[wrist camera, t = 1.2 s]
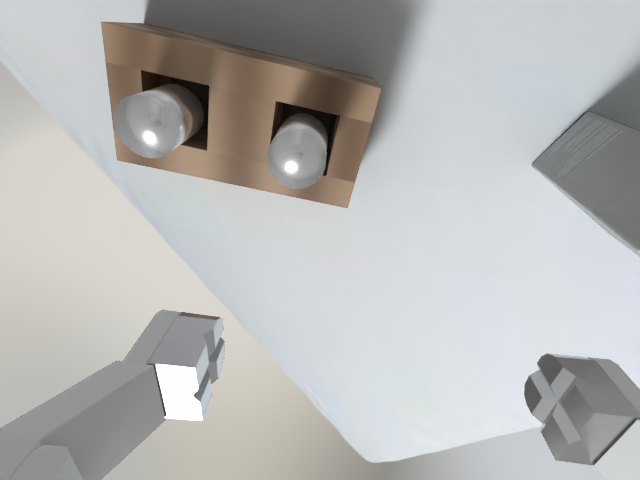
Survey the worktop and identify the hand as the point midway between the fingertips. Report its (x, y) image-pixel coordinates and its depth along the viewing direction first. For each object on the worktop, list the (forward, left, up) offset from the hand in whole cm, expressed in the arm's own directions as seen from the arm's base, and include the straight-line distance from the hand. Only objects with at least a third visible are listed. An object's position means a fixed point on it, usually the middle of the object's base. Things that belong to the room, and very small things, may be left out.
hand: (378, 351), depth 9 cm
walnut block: (-6, -6, -27) cm, 28 cm away
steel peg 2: (-2, -3, -22) cm, 22 cm away
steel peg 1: (-10, -10, -22) cm, 26 cm away
